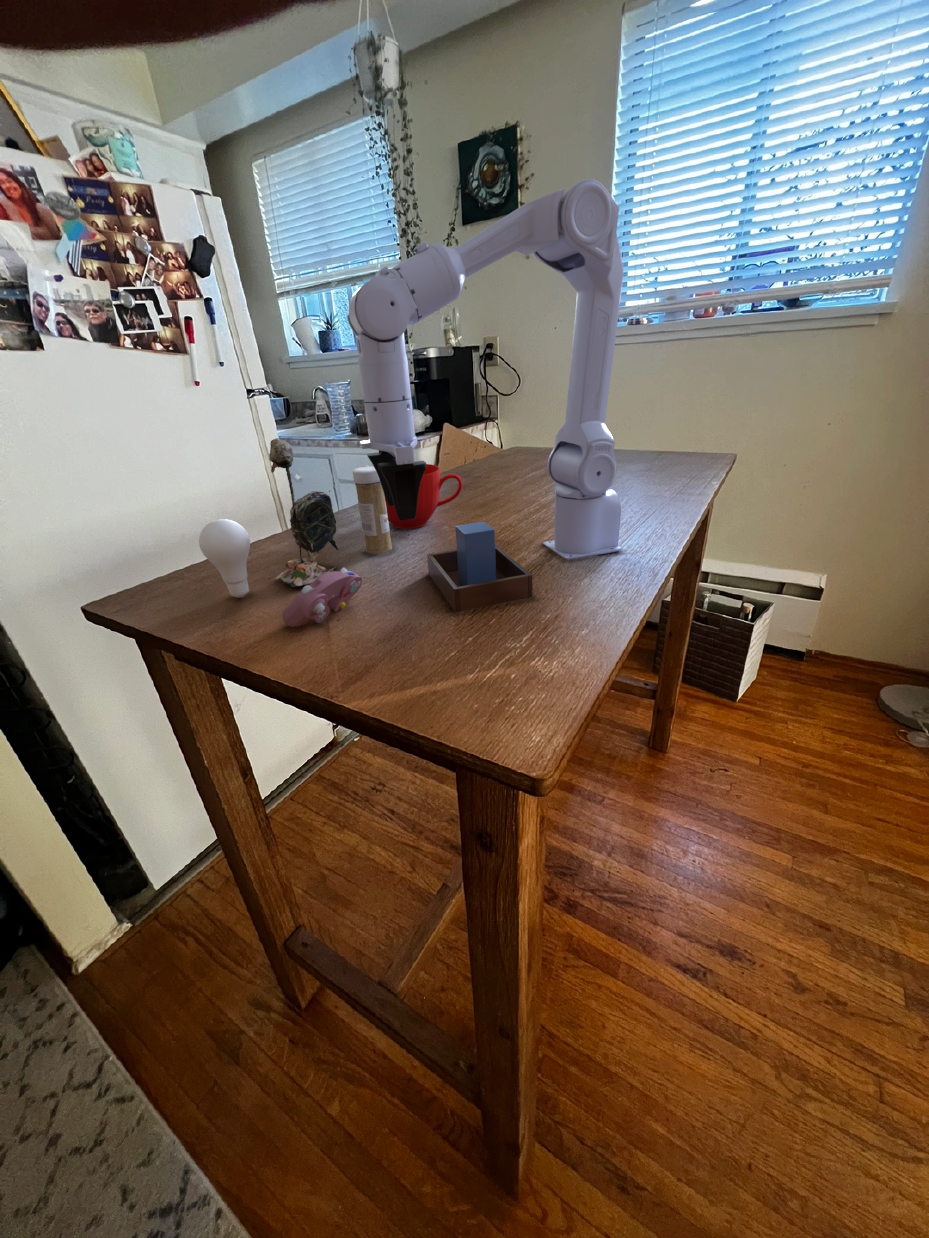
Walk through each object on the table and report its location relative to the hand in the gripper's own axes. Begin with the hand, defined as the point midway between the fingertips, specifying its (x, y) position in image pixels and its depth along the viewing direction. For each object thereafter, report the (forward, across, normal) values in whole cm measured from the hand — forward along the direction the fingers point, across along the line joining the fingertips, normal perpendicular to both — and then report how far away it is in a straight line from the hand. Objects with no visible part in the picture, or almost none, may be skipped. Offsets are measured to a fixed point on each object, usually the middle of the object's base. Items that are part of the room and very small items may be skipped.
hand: (401, 511), depth 67 cm
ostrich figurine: (+10, -9, -13) cm, 19 cm away
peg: (+10, +6, +8) cm, 14 cm away
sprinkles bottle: (+10, -15, -2) cm, 18 cm away
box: (+10, +6, +8) cm, 14 cm away
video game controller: (+10, +6, -12) cm, 17 cm away
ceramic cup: (+10, -27, +8) cm, 30 cm away
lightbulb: (+10, -5, -23) cm, 26 cm away
